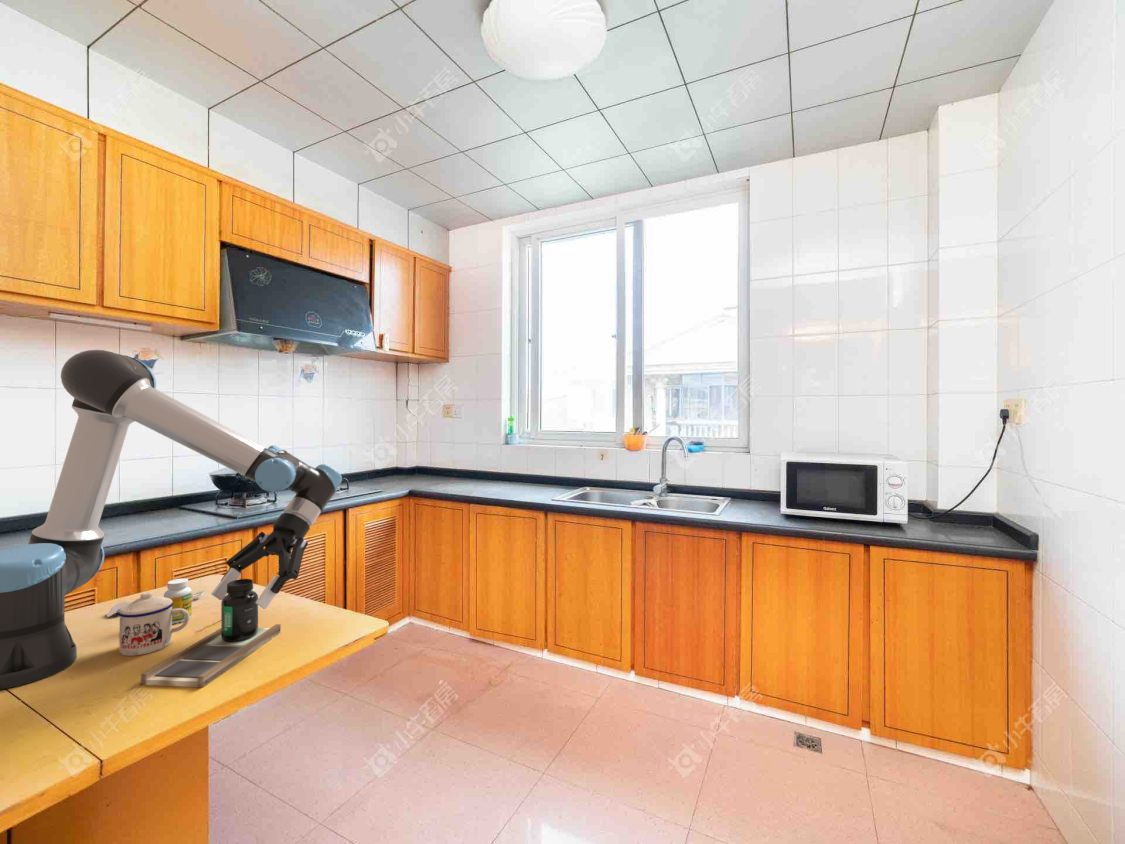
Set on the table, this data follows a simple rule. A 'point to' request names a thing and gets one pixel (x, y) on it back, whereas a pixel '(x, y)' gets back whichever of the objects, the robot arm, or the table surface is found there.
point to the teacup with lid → (147, 624)
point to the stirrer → (118, 606)
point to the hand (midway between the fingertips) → (237, 601)
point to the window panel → (205, 660)
